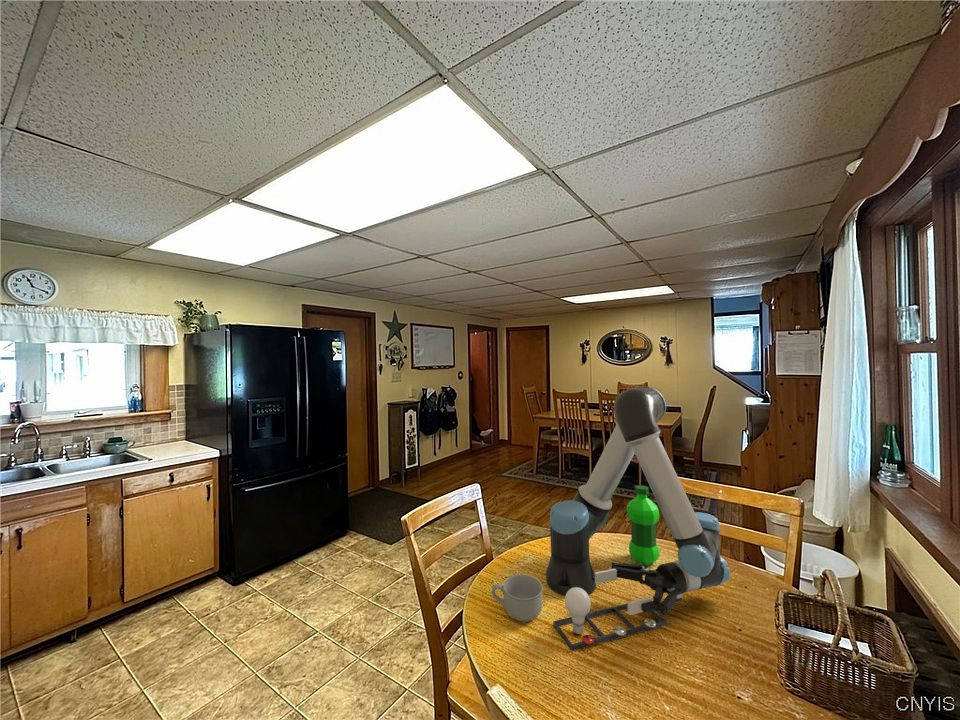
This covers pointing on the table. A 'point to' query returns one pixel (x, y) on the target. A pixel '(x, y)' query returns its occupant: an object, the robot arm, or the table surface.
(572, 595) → the lightbulb
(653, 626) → the dark grey flat frame
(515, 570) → the table surface
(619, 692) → the table surface
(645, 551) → the plastic bottle
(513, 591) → the teacup
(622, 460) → the robot arm
